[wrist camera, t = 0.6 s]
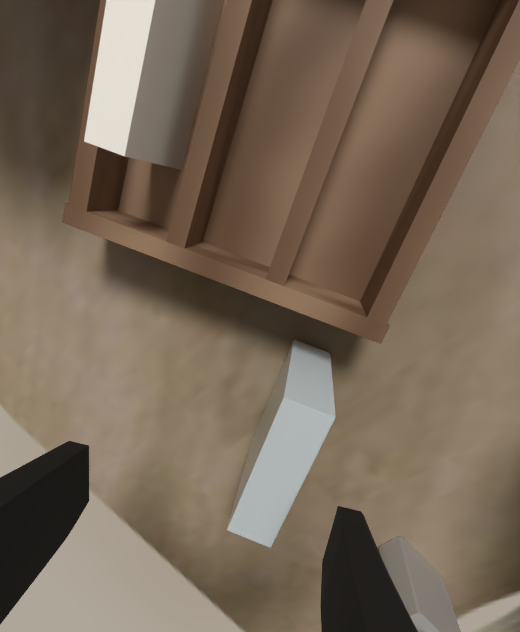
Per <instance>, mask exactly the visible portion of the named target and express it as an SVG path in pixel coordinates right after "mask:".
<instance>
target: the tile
mask: <svg viewBox="0 0 520 632" xmlns="http://www.w3.org/2000/svg"><path fill="white" fill-rule="evenodd" d="M222 3H223V0H106V6H105V12H104V19H103V25H102V31H101V37H100V44H99V50H98V56H97V62H96V69H95V75H94V81H93V87H92V94H91V100H90V106H89V113H88V119H87V125H86V131H85V138H84V142H87V143H90V144H92V145H95V146H98V147H100V148H103V149H106V150H109V151H111V152H114V153H117V154H119V155H122V156H125V157H129V158H133V159H138V160H142V161H146V162H150V163H155V164H159V165H163V166H167V167H172V168H176V169H180V170H181V167H182V163H183V159H184V155H185V151H186V147H187V143H188V139H189V135H190V131H191V127H192V123H193V119H194V115H195V111H196V107H197V103H198V99H199V95H200V91H201V87H202V83H203V79H204V75H205V71H206V67H207V63H208V59H209V55H210V51H211V47H212V43H213V39H214V35H215V31H216V27H217V23H218V19H219V15H220V11H221V7H222Z"/></svg>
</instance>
